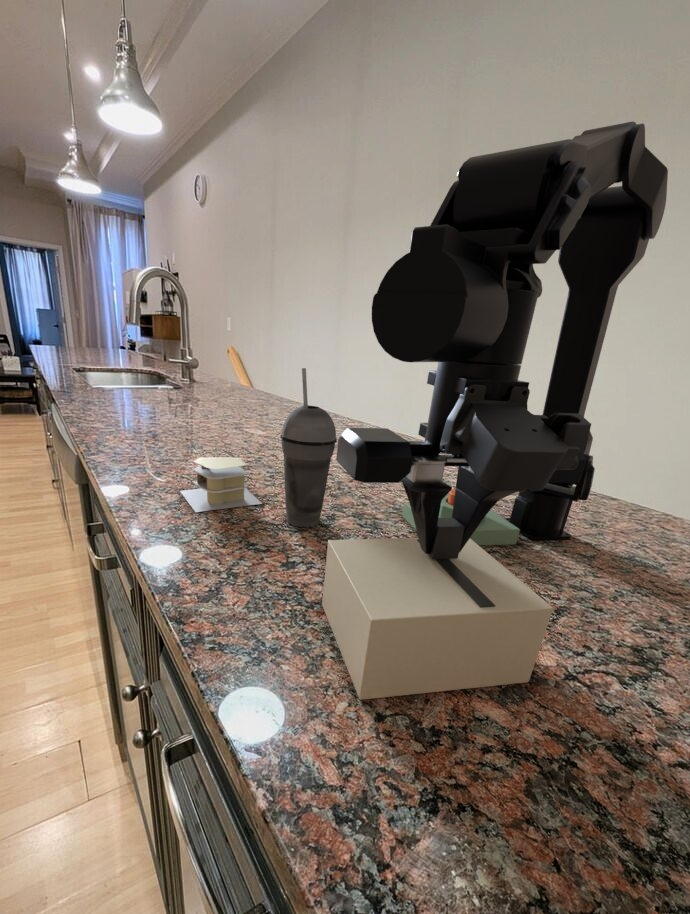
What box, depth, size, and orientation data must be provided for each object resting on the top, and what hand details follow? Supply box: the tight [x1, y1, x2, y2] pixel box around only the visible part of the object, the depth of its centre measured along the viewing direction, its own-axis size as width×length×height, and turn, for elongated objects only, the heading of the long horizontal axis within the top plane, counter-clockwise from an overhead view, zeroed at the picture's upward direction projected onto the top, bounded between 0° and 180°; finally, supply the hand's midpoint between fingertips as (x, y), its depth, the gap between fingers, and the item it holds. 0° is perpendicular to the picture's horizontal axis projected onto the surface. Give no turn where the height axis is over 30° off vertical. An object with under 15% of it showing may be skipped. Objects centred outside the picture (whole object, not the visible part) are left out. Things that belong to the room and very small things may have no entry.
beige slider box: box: [321, 537, 554, 701], centre depth 38 cm, size 14×12×7 cm
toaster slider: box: [428, 518, 465, 559], centre depth 38 cm, size 2×2×3 cm
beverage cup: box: [279, 367, 338, 528], centre depth 58 cm, size 7×7×20 cm
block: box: [401, 494, 520, 546], centre depth 61 cm, size 12×10×4 cm
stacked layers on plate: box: [179, 456, 263, 513], centre depth 66 cm, size 10×9×6 cm
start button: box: [448, 488, 456, 506], centre depth 60 cm, size 4×4×2 cm
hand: (439, 551), depth 39 cm, fingers closed on toaster slider, 2 cm apart
